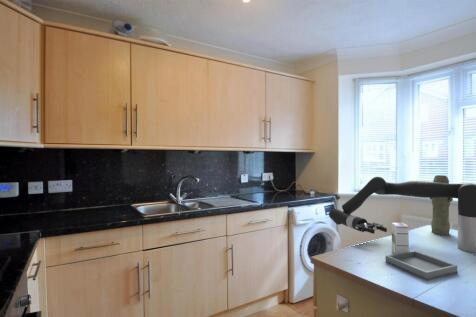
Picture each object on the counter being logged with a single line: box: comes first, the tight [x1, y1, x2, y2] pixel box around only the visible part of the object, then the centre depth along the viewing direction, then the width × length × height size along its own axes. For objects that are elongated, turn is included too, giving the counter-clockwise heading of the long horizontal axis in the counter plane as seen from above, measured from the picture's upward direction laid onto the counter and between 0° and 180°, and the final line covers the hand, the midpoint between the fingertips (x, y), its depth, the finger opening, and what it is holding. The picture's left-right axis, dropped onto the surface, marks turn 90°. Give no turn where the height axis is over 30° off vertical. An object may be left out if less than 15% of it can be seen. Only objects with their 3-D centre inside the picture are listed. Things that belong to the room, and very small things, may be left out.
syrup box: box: [391, 222, 410, 254], centre depth 128 cm, size 6×6×14 cm
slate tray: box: [385, 250, 458, 281], centre depth 113 cm, size 18×18×3 cm
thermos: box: [429, 174, 454, 236], centre depth 161 cm, size 9×12×35 cm
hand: (380, 230), depth 138 cm, fingers open, 8 cm apart
